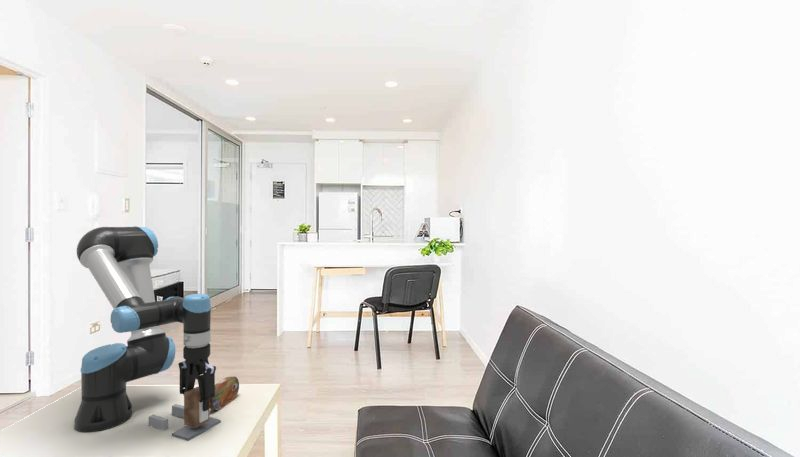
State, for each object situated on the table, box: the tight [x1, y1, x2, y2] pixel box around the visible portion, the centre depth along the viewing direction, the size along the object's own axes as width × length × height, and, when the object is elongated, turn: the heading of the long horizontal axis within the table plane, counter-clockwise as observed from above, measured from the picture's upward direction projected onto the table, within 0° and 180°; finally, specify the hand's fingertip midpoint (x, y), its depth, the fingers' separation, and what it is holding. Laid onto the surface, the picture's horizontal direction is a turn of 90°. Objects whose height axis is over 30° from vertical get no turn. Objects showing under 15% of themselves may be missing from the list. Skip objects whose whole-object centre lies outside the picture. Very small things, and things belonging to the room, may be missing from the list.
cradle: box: [148, 403, 184, 431], centre depth 128 cm, size 7×10×3 cm
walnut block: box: [183, 386, 210, 428], centre depth 123 cm, size 5×5×10 cm
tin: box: [209, 376, 240, 411], centre depth 141 cm, size 15×3×8 cm, turn 168°
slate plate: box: [171, 416, 222, 442], centre depth 124 cm, size 7×12×1 cm, turn 157°
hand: (196, 418), depth 124 cm, fingers closed on walnut block, 5 cm apart
